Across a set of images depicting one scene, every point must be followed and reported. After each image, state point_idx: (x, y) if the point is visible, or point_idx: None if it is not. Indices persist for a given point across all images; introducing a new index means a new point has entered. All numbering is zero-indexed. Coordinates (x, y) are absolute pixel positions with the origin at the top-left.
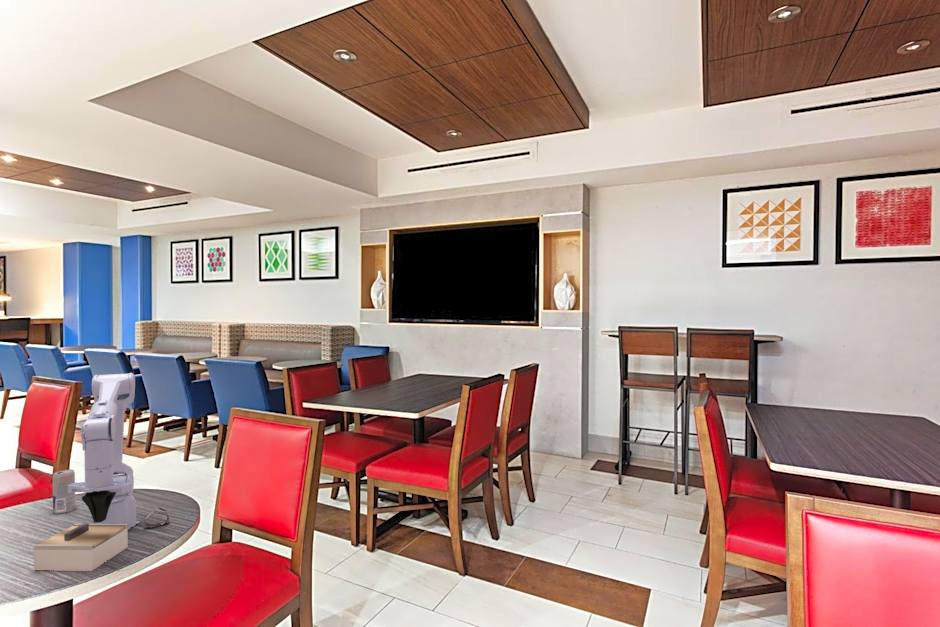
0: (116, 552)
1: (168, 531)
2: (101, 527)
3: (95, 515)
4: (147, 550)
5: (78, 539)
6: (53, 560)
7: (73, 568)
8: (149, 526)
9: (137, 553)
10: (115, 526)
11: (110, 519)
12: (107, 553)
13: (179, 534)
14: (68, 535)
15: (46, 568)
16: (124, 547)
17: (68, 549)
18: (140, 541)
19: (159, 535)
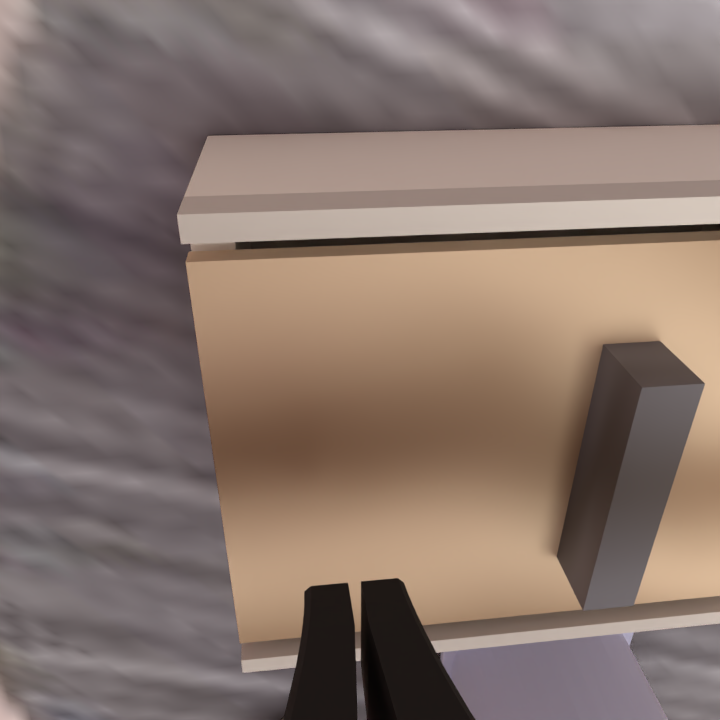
0: None
1: (148, 691)
2: (464, 603)
3: (381, 679)
4: (38, 485)
5: (514, 378)
6: (620, 148)
7: (392, 137)
8: None
9: (77, 441)
10: None
11: (536, 717)
12: None
13: (26, 675)
14: (642, 378)
15: (652, 129)
16: None
17: (493, 189)
18: (227, 578)
19: (162, 649)
